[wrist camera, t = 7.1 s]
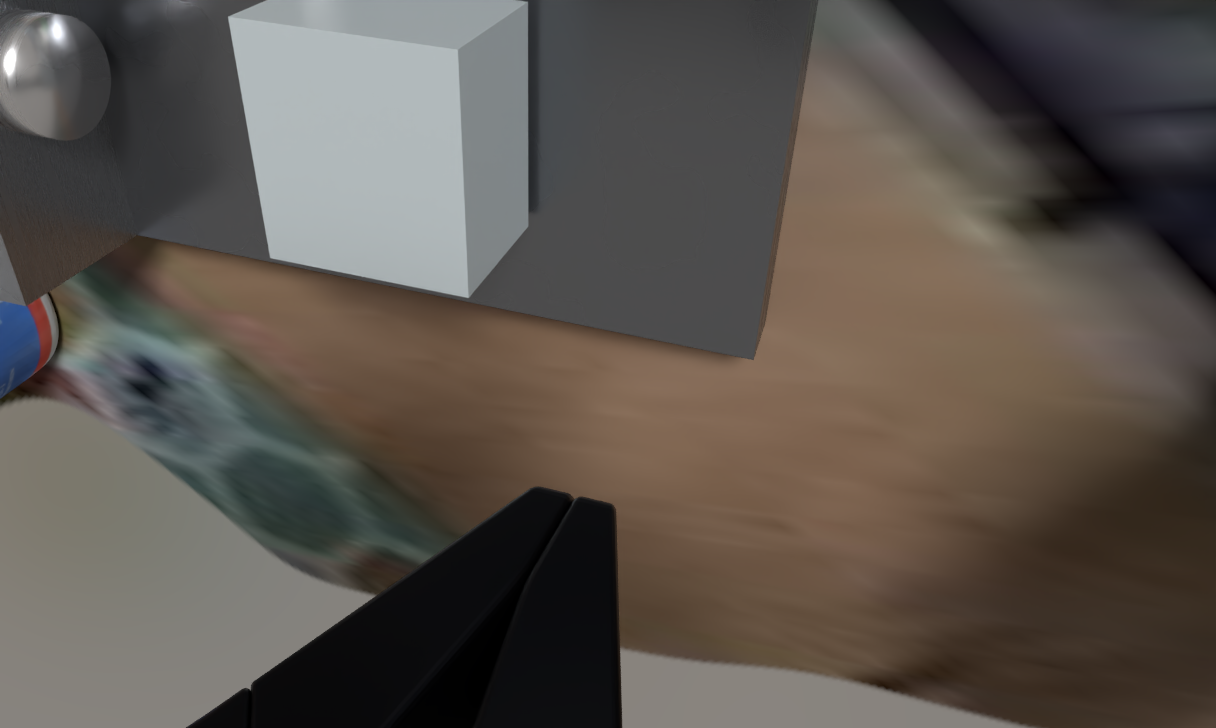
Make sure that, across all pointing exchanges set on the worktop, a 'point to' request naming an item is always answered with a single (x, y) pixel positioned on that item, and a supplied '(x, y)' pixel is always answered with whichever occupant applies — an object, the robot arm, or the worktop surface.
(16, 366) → the pill bottle
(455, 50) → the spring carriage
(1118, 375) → the worktop surface
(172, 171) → the gauge base
